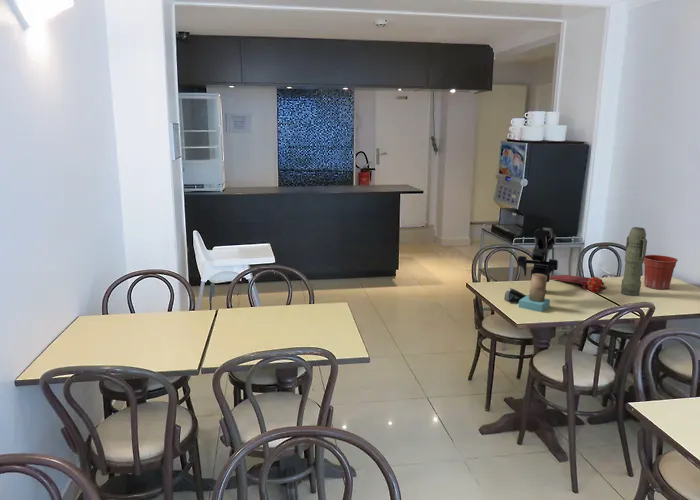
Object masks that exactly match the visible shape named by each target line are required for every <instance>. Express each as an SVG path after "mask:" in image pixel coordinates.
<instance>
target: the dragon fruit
mask: <svg viewBox="0 0 700 500" xmlns="http://www.w3.org/2000/svg"><path fill="white" fill-rule="evenodd" d="M589 278H590V279H589V281H588V282H587V284H586V285H588V289H587V290H588V291H590V292H592V293H594V294H598V293H602V292H603V291H605V290H607V289H608V288H607V286H606V284H605V282H603V279H602V278H599V276H592V277H589Z"/></svg>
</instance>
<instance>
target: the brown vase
mask: <svg viewBox="0 0 700 500" xmlns="http://www.w3.org/2000/svg"><path fill="white" fill-rule="evenodd" d="M547 283H548V282H547V276H546V275H544V274H537V273H535V274H532V278H531V277H530V287H529V299H530V300H532V301H536V302H543V301H544V298H545V299H546V292H547V290H546V289H547ZM545 291H546V292H545Z"/></svg>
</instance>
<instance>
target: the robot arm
mask: <svg viewBox="0 0 700 500" xmlns="http://www.w3.org/2000/svg"><path fill="white" fill-rule="evenodd" d="M556 236H557V235H556V234H555V233H554V231H553V228H552V227H542V228H537V229H536V230H535V231H534V234H533V238H534V247H533V248H532V253H531V259H528V257H527V256H525V255H519V256H518V257H517V265H518V266H519V267H520V268H522V269H523V275H524V277H527V267H528V266H527V265H528V264H531V265H533V267H532V268H531V271H530V279H531V278H532V274H535V273H537V274H544V275H546V276H547V283H549V282H550V280H551V279H550V277H551V275H550V274H551V273H552V272H554V271H557V270H558V268H559V261H558V259H553V258H549V257H548V256H549V253H550V251H551V250H553V249H554V246H555V245H556ZM548 258H549V259H548ZM546 292H547V290H546V291H545V293H546Z"/></svg>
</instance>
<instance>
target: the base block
mask: <svg viewBox="0 0 700 500" xmlns="http://www.w3.org/2000/svg"><path fill="white" fill-rule="evenodd" d="M550 303H551V299H550V298H546V297H545V298H544V301H543V302H536V301H532V300H530V299H529V295H528V294H527V296H525V297H524V298H522V299H520V300H519V303H518V308H521V309H525V310H528V311H529V310H530V311H534V312H540V313H543V311H545V310H546V309H548V308H549V307H550V306H551V305H550Z"/></svg>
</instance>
